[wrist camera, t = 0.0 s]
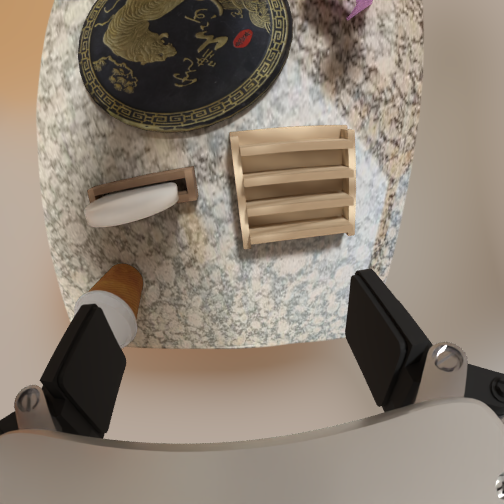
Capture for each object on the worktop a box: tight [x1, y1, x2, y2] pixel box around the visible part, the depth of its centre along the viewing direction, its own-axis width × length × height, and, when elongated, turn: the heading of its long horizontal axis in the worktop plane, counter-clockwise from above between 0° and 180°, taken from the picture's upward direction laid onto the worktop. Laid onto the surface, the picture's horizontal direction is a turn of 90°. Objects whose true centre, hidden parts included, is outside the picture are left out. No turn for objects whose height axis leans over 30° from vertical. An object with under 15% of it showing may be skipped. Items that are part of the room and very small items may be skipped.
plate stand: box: [87, 166, 198, 203], centre depth 37 cm, size 4×15×2 cm, turn 96°
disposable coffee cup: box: [74, 264, 143, 348], centre depth 39 cm, size 10×10×12 cm
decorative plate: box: [78, 0, 293, 133], centre depth 28 cm, size 30×2×30 cm
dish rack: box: [229, 125, 356, 249], centre depth 37 cm, size 16×16×5 cm
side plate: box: [84, 182, 179, 227], centre depth 33 cm, size 2×12×12 cm, turn 96°
